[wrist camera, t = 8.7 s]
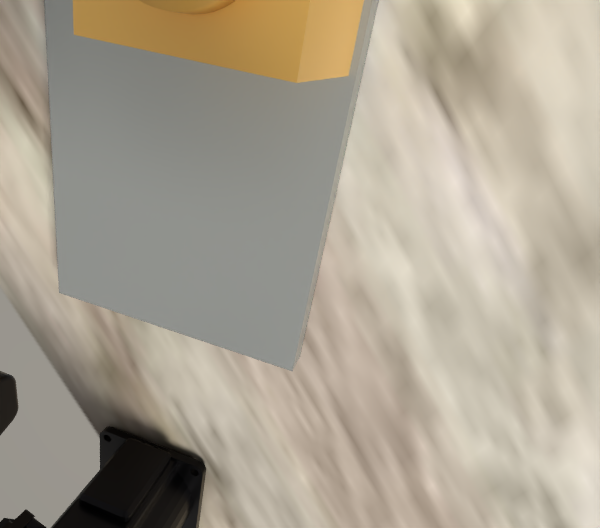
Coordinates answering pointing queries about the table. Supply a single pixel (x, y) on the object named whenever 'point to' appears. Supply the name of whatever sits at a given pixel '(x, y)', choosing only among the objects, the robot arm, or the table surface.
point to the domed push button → (233, 32)
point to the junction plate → (194, 187)
